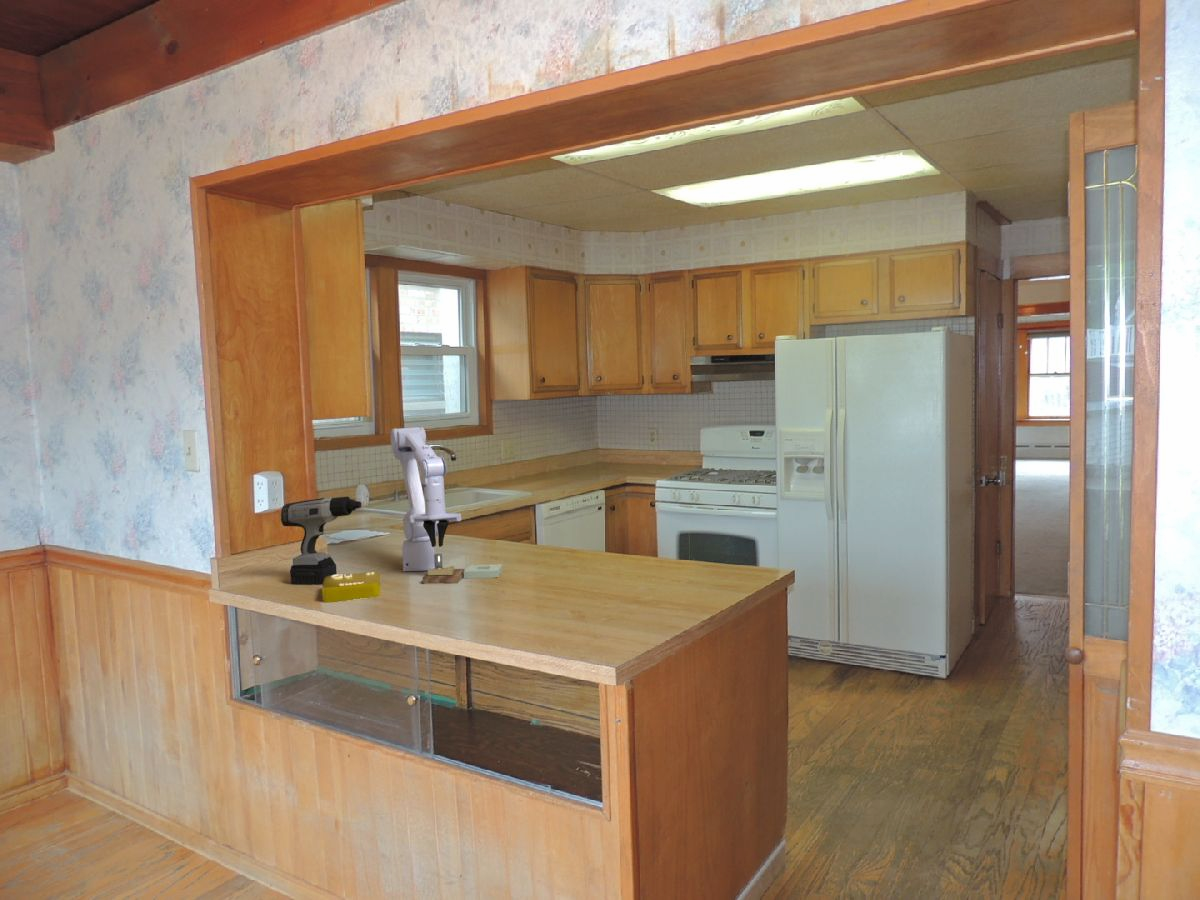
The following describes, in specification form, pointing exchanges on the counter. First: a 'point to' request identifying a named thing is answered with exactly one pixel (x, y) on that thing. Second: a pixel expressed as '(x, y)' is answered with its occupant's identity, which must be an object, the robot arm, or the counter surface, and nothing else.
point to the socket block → (444, 577)
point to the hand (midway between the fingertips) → (437, 546)
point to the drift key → (441, 571)
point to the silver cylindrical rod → (438, 560)
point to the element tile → (351, 586)
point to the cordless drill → (314, 535)
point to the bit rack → (483, 571)
